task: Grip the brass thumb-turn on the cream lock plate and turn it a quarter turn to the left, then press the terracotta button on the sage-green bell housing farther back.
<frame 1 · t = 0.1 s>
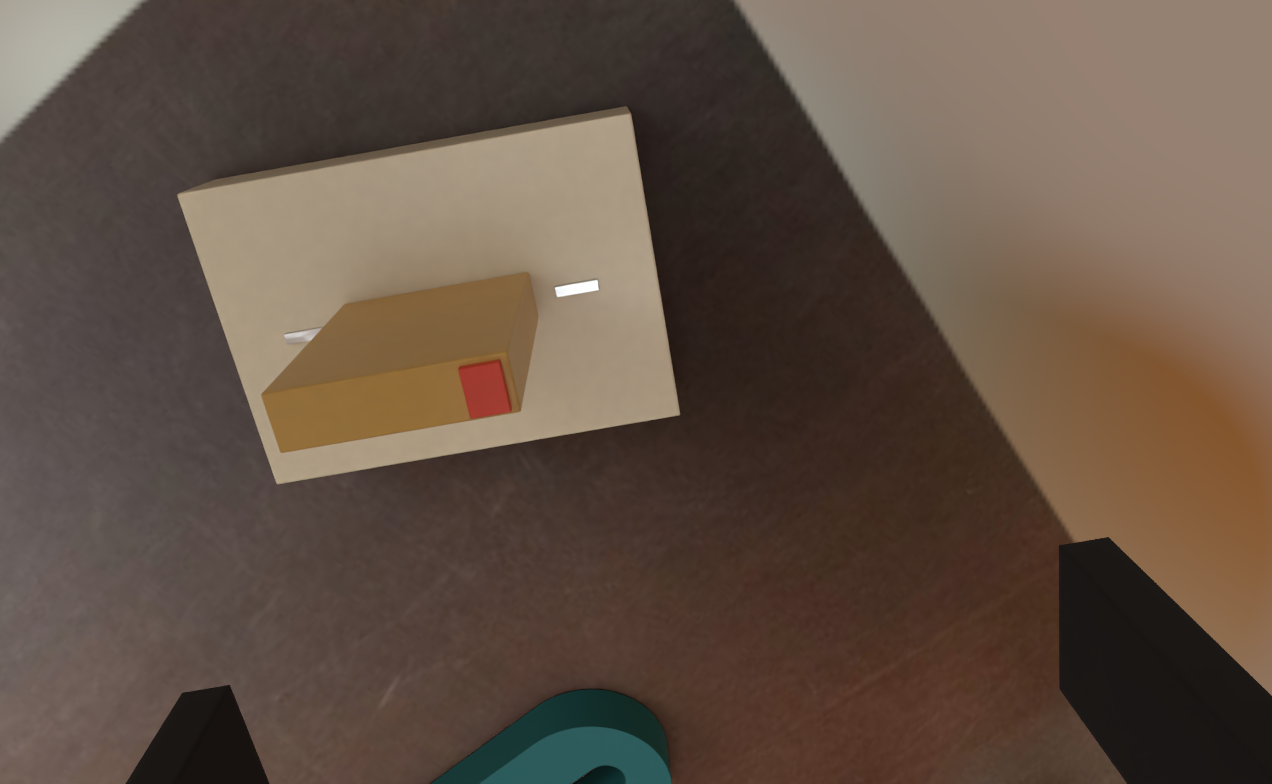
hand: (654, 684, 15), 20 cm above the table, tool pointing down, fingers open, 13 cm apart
lock plate: (455, 287, 33), on the table
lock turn: (419, 352, 26), point 7 cm above the table, hinge at 0.0°
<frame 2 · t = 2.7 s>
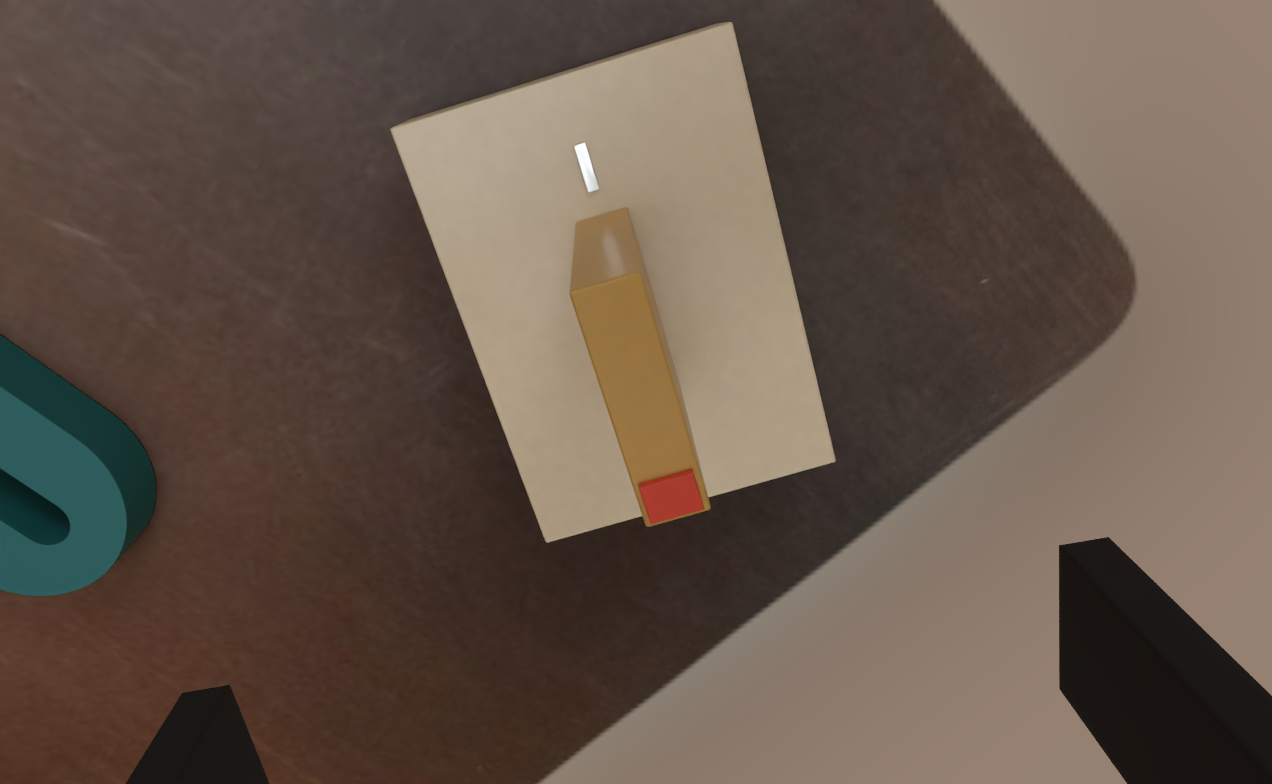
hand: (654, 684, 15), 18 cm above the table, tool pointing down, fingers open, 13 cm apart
lock plate: (626, 283, 31), on the table
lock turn: (636, 351, 24), point 7 cm above the table, hinge at 0.0°
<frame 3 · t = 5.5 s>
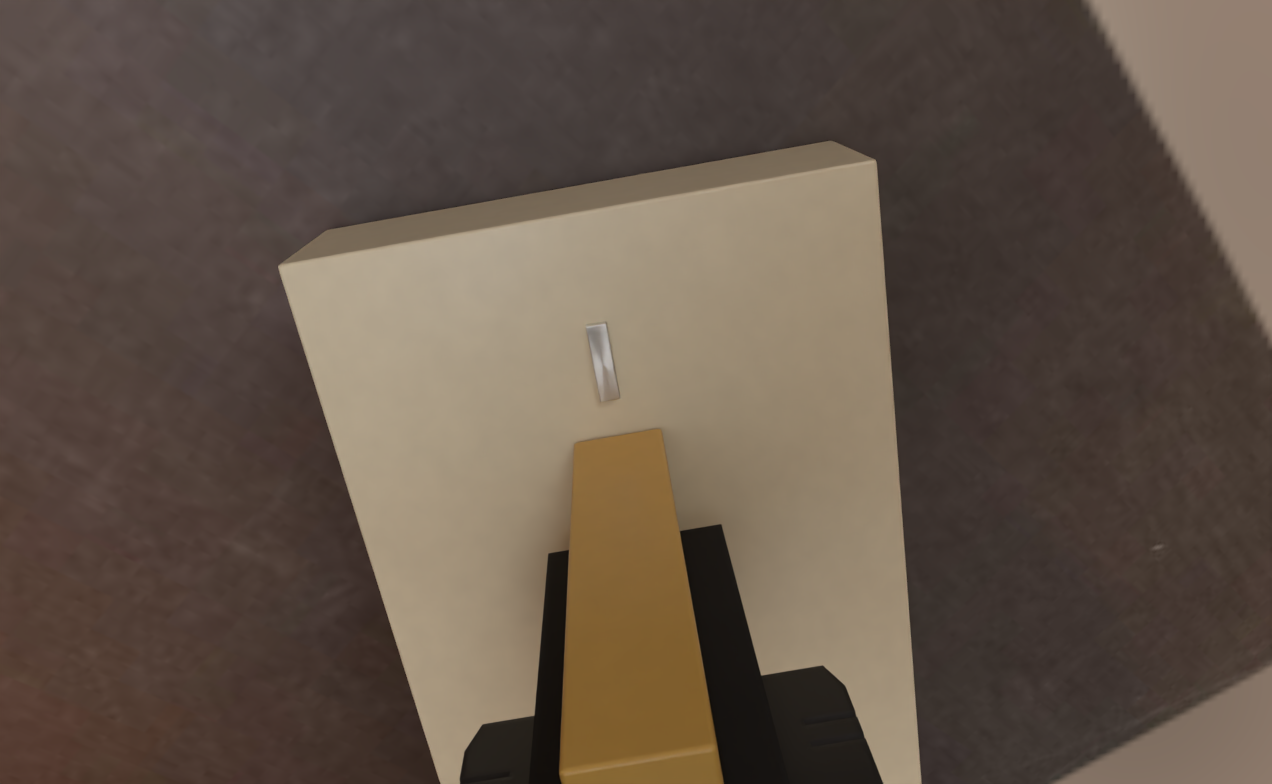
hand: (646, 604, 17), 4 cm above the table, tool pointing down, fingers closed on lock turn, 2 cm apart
lock plate: (637, 501, 21), on the table
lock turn: (658, 726, 14), point 7 cm above the table, hinge at 0.0°, touching gripper
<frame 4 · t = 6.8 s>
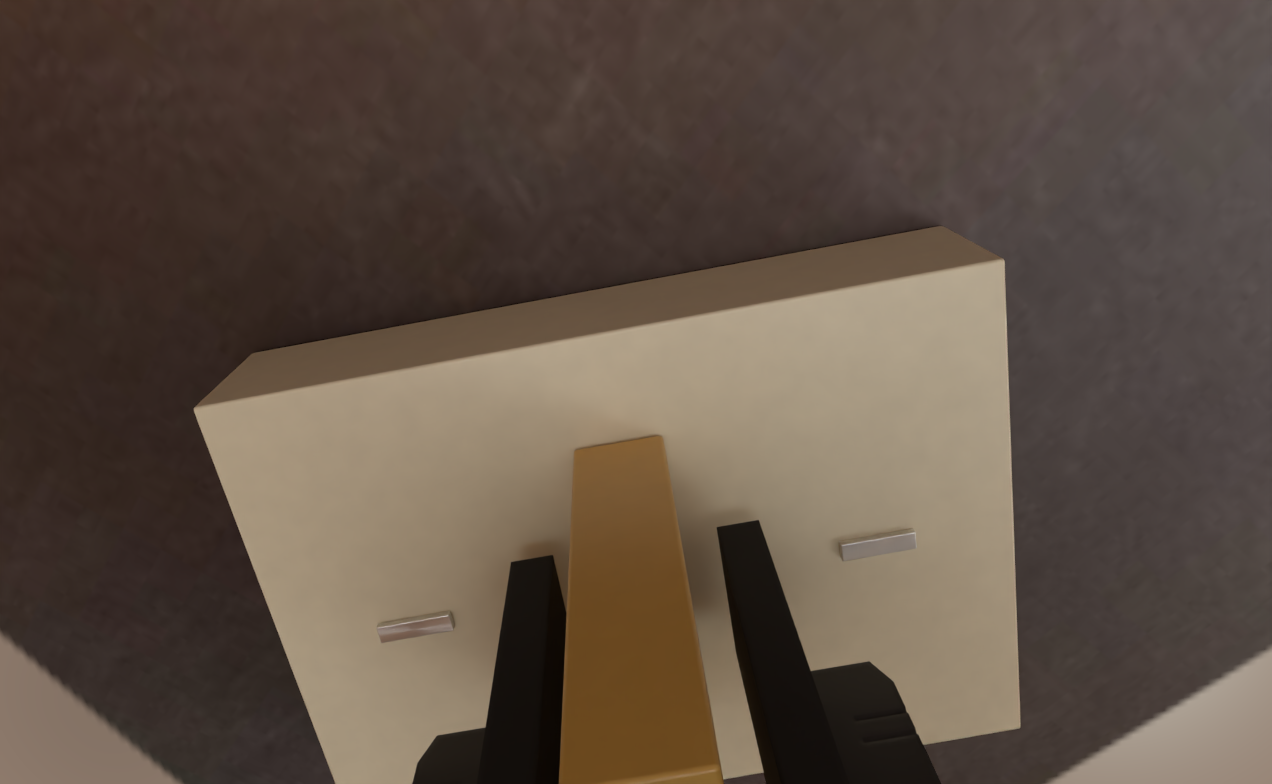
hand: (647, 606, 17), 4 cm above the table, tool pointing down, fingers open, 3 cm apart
lock plate: (638, 508, 20), on the table
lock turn: (660, 740, 14), point 7 cm above the table, hinge at 89.4°
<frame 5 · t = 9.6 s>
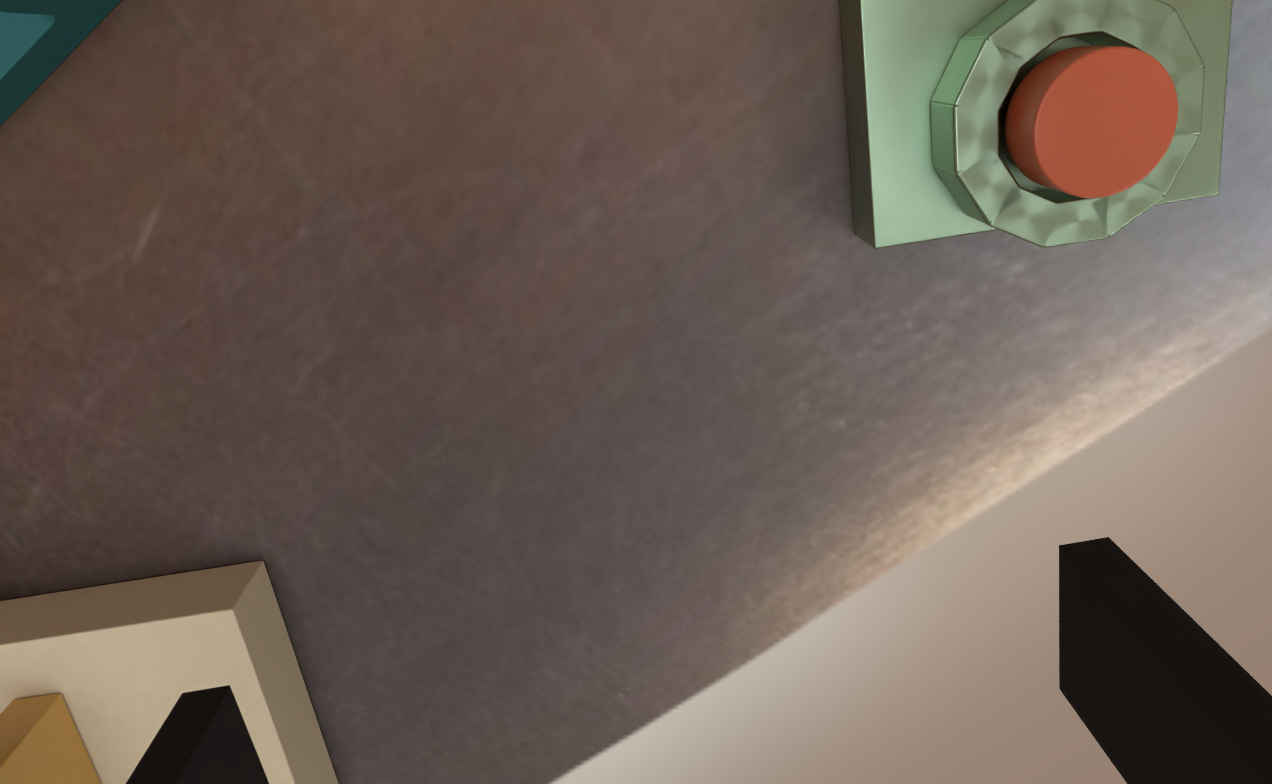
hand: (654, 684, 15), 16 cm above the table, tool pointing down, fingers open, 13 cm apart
lock plate: (114, 707, 34), on the table
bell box: (1013, 2, 27), on the table
bell button: (1088, 121, 24), point 4 cm above the table, slide at 0.1 cm
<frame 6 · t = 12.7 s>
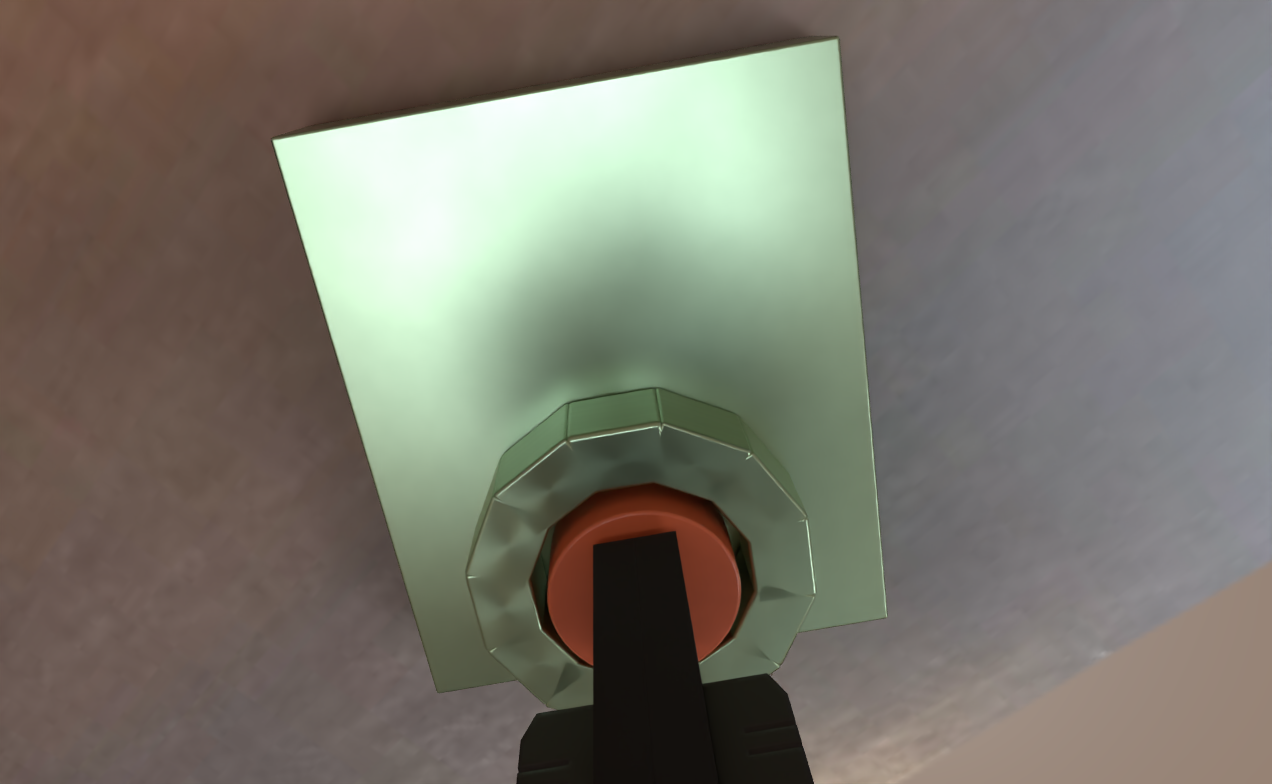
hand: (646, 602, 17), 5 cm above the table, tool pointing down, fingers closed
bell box: (611, 368, 20), on the table
bell button: (642, 572, 18), point 4 cm above the table, slide at -0.8 cm, touching gripper
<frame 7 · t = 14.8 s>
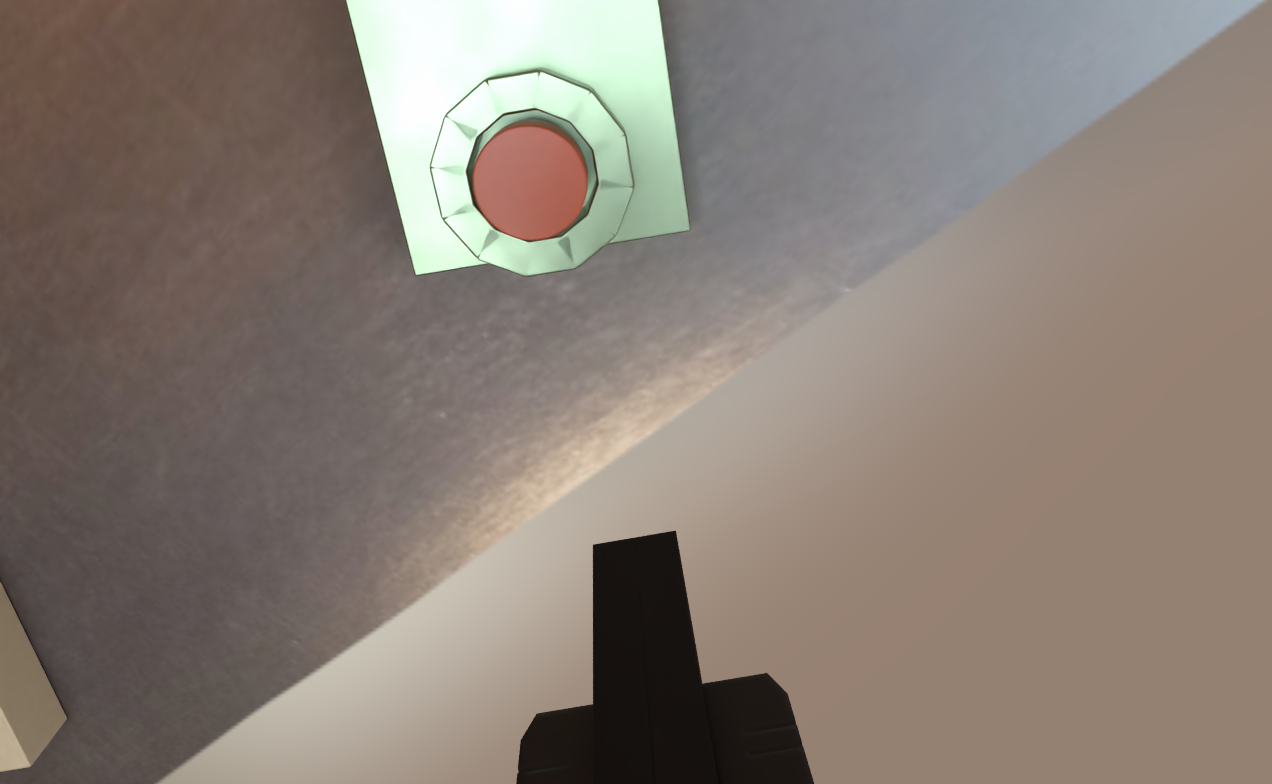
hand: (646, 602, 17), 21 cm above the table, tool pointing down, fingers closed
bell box: (523, 75, 33), on the table
bell button: (531, 179, 30), point 4 cm above the table, slide at 0.1 cm
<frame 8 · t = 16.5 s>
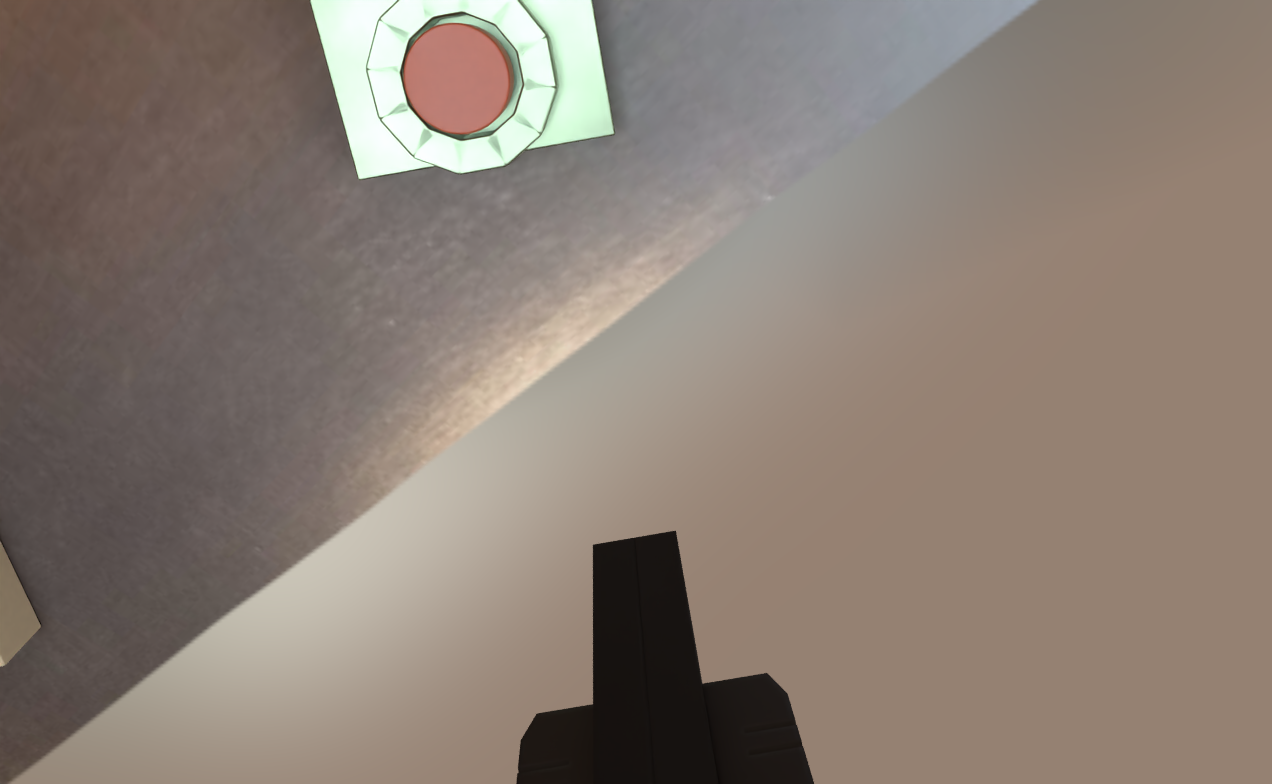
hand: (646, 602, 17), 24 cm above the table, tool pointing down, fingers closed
bell button: (460, 78, 32), point 4 cm above the table, slide at 0.1 cm
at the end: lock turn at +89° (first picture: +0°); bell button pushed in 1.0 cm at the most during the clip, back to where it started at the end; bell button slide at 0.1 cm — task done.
